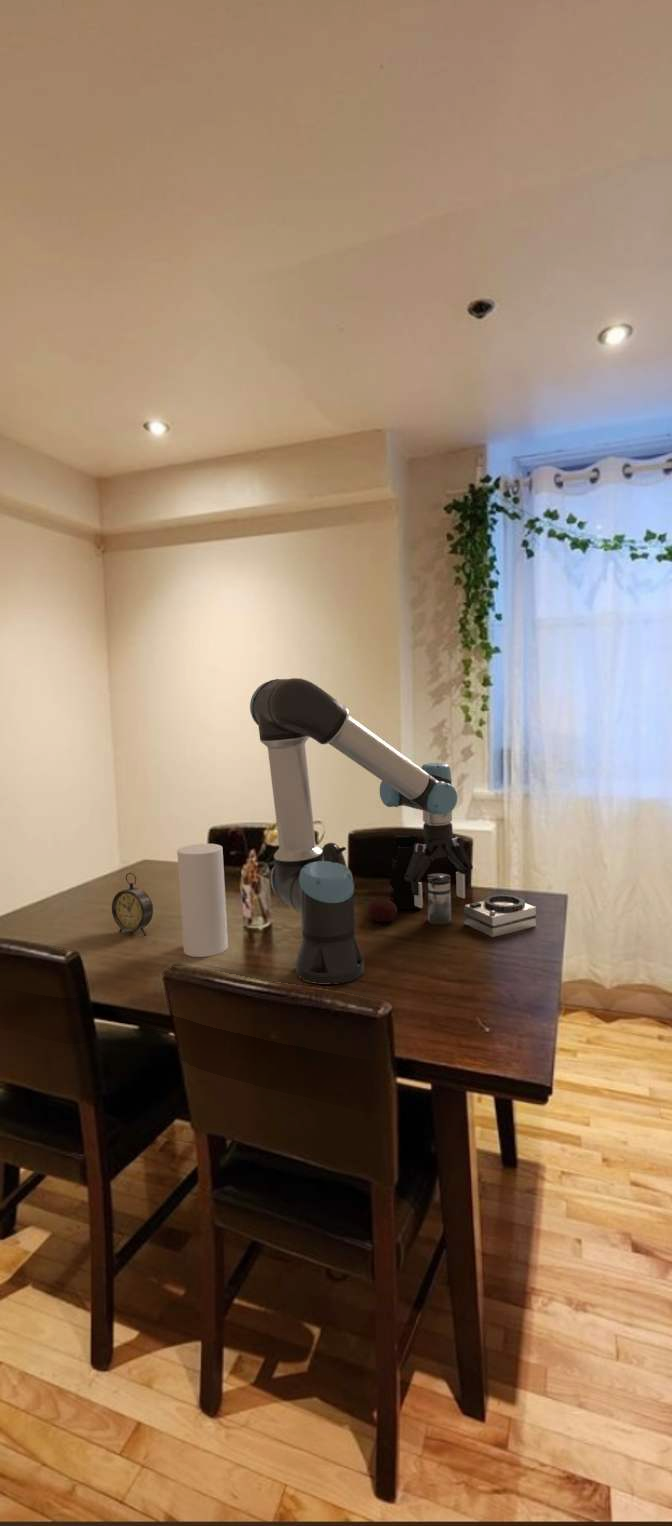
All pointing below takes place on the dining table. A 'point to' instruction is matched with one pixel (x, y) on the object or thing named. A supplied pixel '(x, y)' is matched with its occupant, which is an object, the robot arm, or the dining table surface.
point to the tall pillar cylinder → (202, 899)
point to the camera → (403, 872)
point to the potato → (382, 910)
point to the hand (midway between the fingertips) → (440, 901)
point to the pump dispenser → (333, 853)
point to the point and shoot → (500, 915)
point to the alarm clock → (132, 908)
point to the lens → (439, 898)
